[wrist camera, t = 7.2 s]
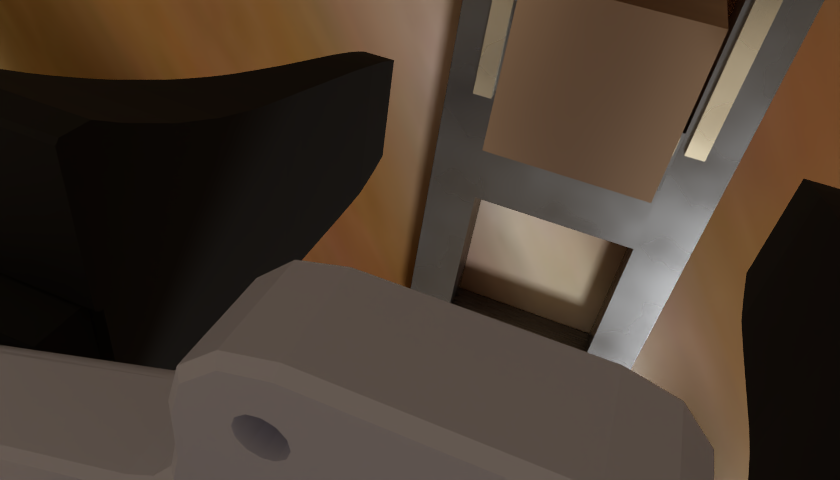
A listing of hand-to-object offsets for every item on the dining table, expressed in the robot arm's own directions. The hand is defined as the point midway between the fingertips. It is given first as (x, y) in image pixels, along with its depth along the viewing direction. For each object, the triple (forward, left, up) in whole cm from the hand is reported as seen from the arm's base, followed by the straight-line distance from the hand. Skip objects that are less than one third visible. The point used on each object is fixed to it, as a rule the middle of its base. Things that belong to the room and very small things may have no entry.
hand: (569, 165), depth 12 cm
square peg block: (0, 0, -10) cm, 10 cm away
